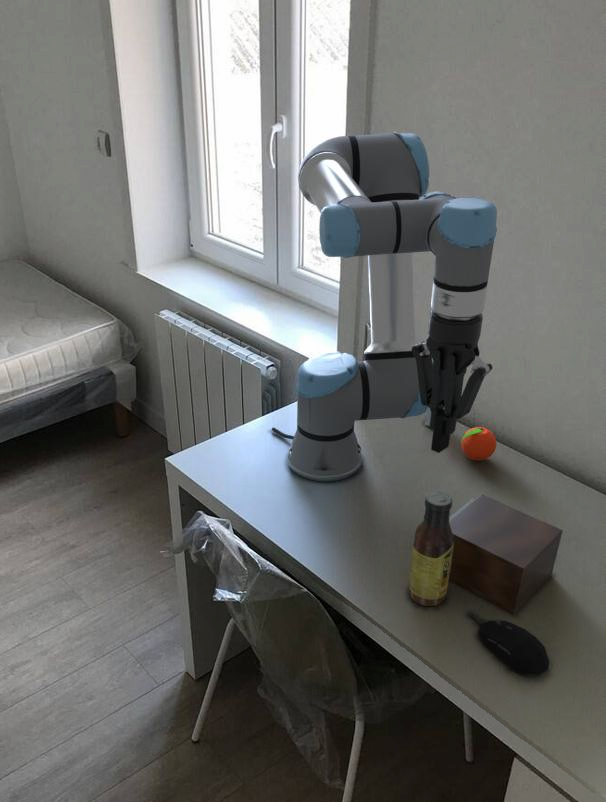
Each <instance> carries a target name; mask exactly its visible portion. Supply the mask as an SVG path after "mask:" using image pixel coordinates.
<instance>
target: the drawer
mask: <svg viewBox="0 0 606 802" xmlns="http://www.w3.org/2000/svg"><path fill="white" fill-rule="evenodd" d="M476 499H477V498H476V497H472V498H471V499H469V501H467V502H466V503H465V504H463V505H462V506H461V507H460V508H459V509H458V510H456V511H455V512H453V514H451V515H449V521H451V520H452V519H453V518H454V517H455V516H457V515H458V514H459V513H460V512H462V511H463V510H464V509H465V508H466V507H468V506H469V505H470V504H471V503H472V502H474V501H475V500H476Z"/></svg>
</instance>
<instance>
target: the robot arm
mask: <svg viewBox="0 0 606 802" xmlns="http://www.w3.org/2000/svg"><path fill="white" fill-rule="evenodd" d="M427 152H428V151H427V149H426V146H425V144H424V142H423V141H422V139H421V137H420V136H418V135H417V134H415V133H413V132H396V131H393V132H387V133H385V132H384V133H374V134H373V133H372V134H361V135H341V136H336V137H331V138H329V139H326V140H324V141H323V142H321V143H318V144H317V145H316V146H315V147H313V148H312V149H311V150H310V151H309V152H308V153H307V154H306V155H305V157H303V159H302V161H301V163H300V164H299V168H298V172H297V184H298V188H299V190H300V192H301V194H302V196H303V197H304V198H305V199H306V201H307V202H309V204H311V205H313V206H315V207H316V208H317V210H318V212H319V213H320V214H319V225H318V226H319V228H318V229H319V231H318V232H319V234H318V235H319V244H320V247H321V248H320V249H321V252H322V254H323V255H325V257H328V258H344V259H348V258H355V257H366V256H367V262H368V264H367V265H368V287H369V288H368V289H369V314H370V315H369V316H370V345H368V347H367V348H366V349H365V350H364V352H363V358H364V360H363V361H358V360H357V359H356V357H355V356H353V355H352V354H350V353H348V352H344V353H342V352H341V351H329V352H328V351H327V352H323V353H319V354H316V355H313V356H311V357H309V358H308V359H307V360H306V361H304V362H303V363H302V364H301V365H300V367H299V369H298V372H297V381H296V386H295V391H296V393H297V394H296V395H297V398H296V399H297V400H296V403H297V404H296V408H297V409H296V410H297V411H296V430H295V433H294V435H291V434H286V433H284V432H282V431H280V430H279V429H277V428H276V427H274V426H273V427H272V428H271V431H272V432H273V433H275V434H276V435H279V436H281V438H284V439H289V440H292V442H291V445H290V446H289V448H288V454H287V457H288V458H287V462H288V466H289V468H290V470H292V472H293V473H295V474H296V475H298V476H300V477H301V478H304V479H306V480H310V481H314V482H323V483H324V482H326V483H327V482H329V483H330V482H338V481H341V480H345V479H348V478H350V477H351V476H354V474H356V473H357V472H358V471H359V470H360V468H361V465H362V452H363V450H362V447H361V446H360V444H359V442H358V438H357V435H356V432H355V422H357V421H371V420H385V419H398V418H399V419H406V418H410V417H411V418H412V417H418V416H421V415H423V414H425V411H426V410H427V409H428V407H429V408H430V411H431V419H430V427H429V428H430V429H431V430H432V437H431V438H432V440H431V446H430V450H431V451H433V452H435V453H437V454H440V453H441V452H443V451H445V450H446V449H448V448H449V447H450V438H451V435H452V434H454V432H456V427H457V421H458V420H460V419H462V418H463V417H466V416H467V415H468V414H470V412H471V411H472V407H473V405H474V403H475V400H476V398H477V396H478V394H479V391H480V389H481V387H482V384H483V382H484V379H485V377H486V376H487V375H488V374H489V373H490V372H491V371H492V370H493V365H492V364H491V363H490V362H487V363H485V362H484V361H483V359H482V358H481V357H480V348H479V341H480V338H481V332H482V327H483V319H484V315H483V312H484V311H485V307H486V298H487V292H488V285H489V284H488V283H489V277H490V276H489V275H490V270H491V263H492V257H493V250H494V244H495V238H496V236H497V231H498V230H497V217H498V210H497V207H496V205H495V204H494V203H493V202H491V201H489V200H484V199H482V198H477V197H458V198H456V196H454V195H453V196H452V194H450V193H447V192H445V191H440V190H439V191H431V192H428V189H429V184H430V181H429V179H430V163H429V158H428V153H427ZM427 192H428V193H427ZM425 252H431V253H432V254H433V255H434V256H435V258H434V259H435V260H434V261H435V262H434V271H433V282H432V289H431V290H432V292H431V300H430V301H431V302H430V307H431V310H430V312H429V319H428V327H427V333H428V337H427V338H426V340H425V341H421V342H418V341H417V339H416V309H415V308H416V307H415V279H414V278H415V277H414V253H425ZM471 365H472V367H471V370H470V374H471V375H470V376H469V377H468V379H467V382H466V383H465V387H464V378H465V375H466V373H467V368H468V367H470V366H471ZM463 387H464V389H463Z"/></svg>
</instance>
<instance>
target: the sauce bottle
mask: <svg viewBox="0 0 606 802" xmlns="http://www.w3.org/2000/svg"><path fill="white" fill-rule="evenodd" d="M424 506H425V508H424V516H423V520H422V521H421V522H420V523H419V524H418V525H417V527H416V528H415V531H414V532H415V533H414V541H413V544H412V551H411V562H410V571H409V580H408V588H409V589H408V593H409V597H410V598H411V599H412V601H414V603H417V604H419V605H420V606H425V607H435V606H438V605H440V604H442V602H443V601H444V600H445V599H446V595H447V593H448V589H449V581H450V580H449V575H450V568H451V561H452V554H453V547H454V537H453V534H452V531H451V527H450V524H449V517H450V514H451V509H452V507H453V498H452V496H451V495H450V494H449V493H446V492H444V491H441V490H435V491H430V492H428V493H427V494H426V495H425V499H424Z"/></svg>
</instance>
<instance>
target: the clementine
mask: <svg viewBox="0 0 606 802" xmlns="http://www.w3.org/2000/svg"><path fill="white" fill-rule="evenodd" d="M459 444H461V449H462V452H463V453H464V455H466V457H468V458H469V459H471V460H473V461H485V460H487V459H489V458H490V457H491V456H492V455H493V454H494V453H495V451H496V449H497V439H496V436H495V435H494V433H493V432H492V430H490V429H488V428H486V427H483V426H475V427H472V428H470V429H468V430H467V431H466V432H465V433H464V434H463V436H462V438H461V439H460V442H459Z"/></svg>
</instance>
